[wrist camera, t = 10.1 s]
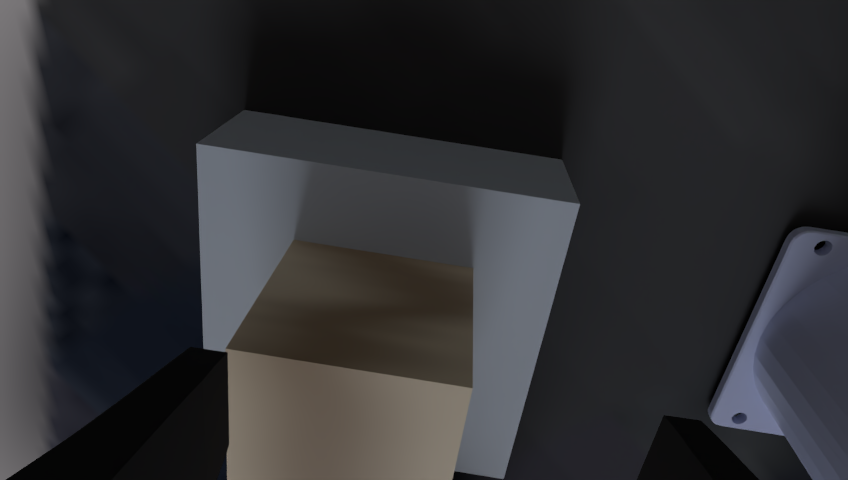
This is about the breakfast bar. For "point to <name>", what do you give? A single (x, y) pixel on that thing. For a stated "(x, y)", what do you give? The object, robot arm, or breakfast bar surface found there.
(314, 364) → the maple cube
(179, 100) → the breakfast bar surface
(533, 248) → the grey base block
